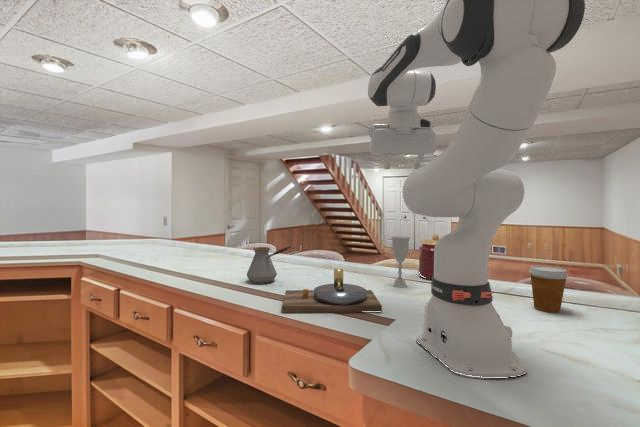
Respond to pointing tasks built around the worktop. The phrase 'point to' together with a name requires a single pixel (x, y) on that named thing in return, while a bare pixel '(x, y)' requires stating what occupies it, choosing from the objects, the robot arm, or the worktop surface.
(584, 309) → the worktop surface
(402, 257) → the chalice
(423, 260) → the canister
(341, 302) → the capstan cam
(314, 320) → the worktop surface
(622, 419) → the worktop surface
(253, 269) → the coffee pot
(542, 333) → the worktop surface
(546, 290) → the disposable coffee cup
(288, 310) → the walnut stand
